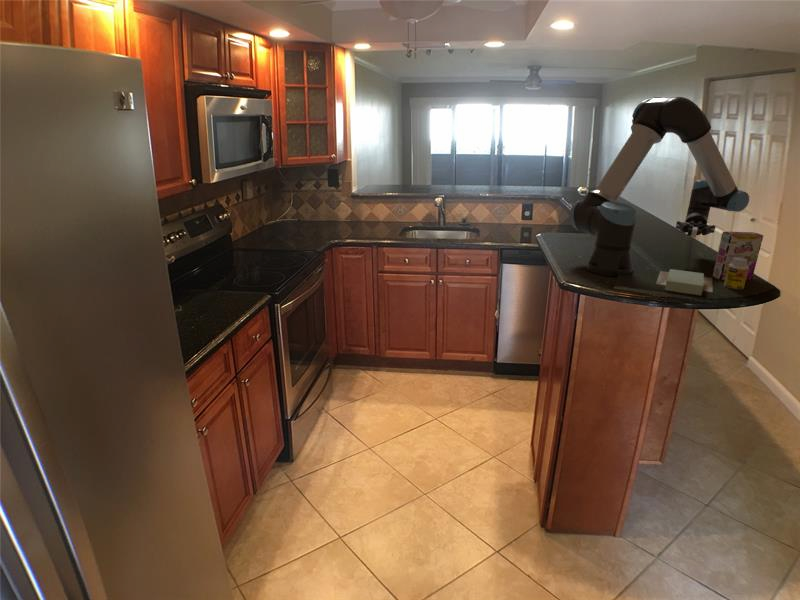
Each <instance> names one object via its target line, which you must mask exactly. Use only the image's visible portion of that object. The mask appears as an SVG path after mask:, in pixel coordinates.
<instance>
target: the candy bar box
mask: <svg viewBox="0 0 800 600" xmlns="http://www.w3.org/2000/svg"><path fill="white" fill-rule="evenodd" d="M763 239H764V235H763V234H762V233H758V232H754V231H753V232H752V231H751V232H750V231H722V232H721V237H720V243H719V246H718V250H717V254H716V259H715V264H714V268H713V271H712V277H713V278H715V279H718V280H723V281H725V278H726V274H727V269H728V265H729V264H730V263H732V260H733V258H744V259H747V260H748V261H747V266H748V267H749V269H748V273H747V278H746V281H753V277H754V273H755V269H756V266H757V262H758V257H759V254H760V250H761V247H762V243H763Z"/></svg>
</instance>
